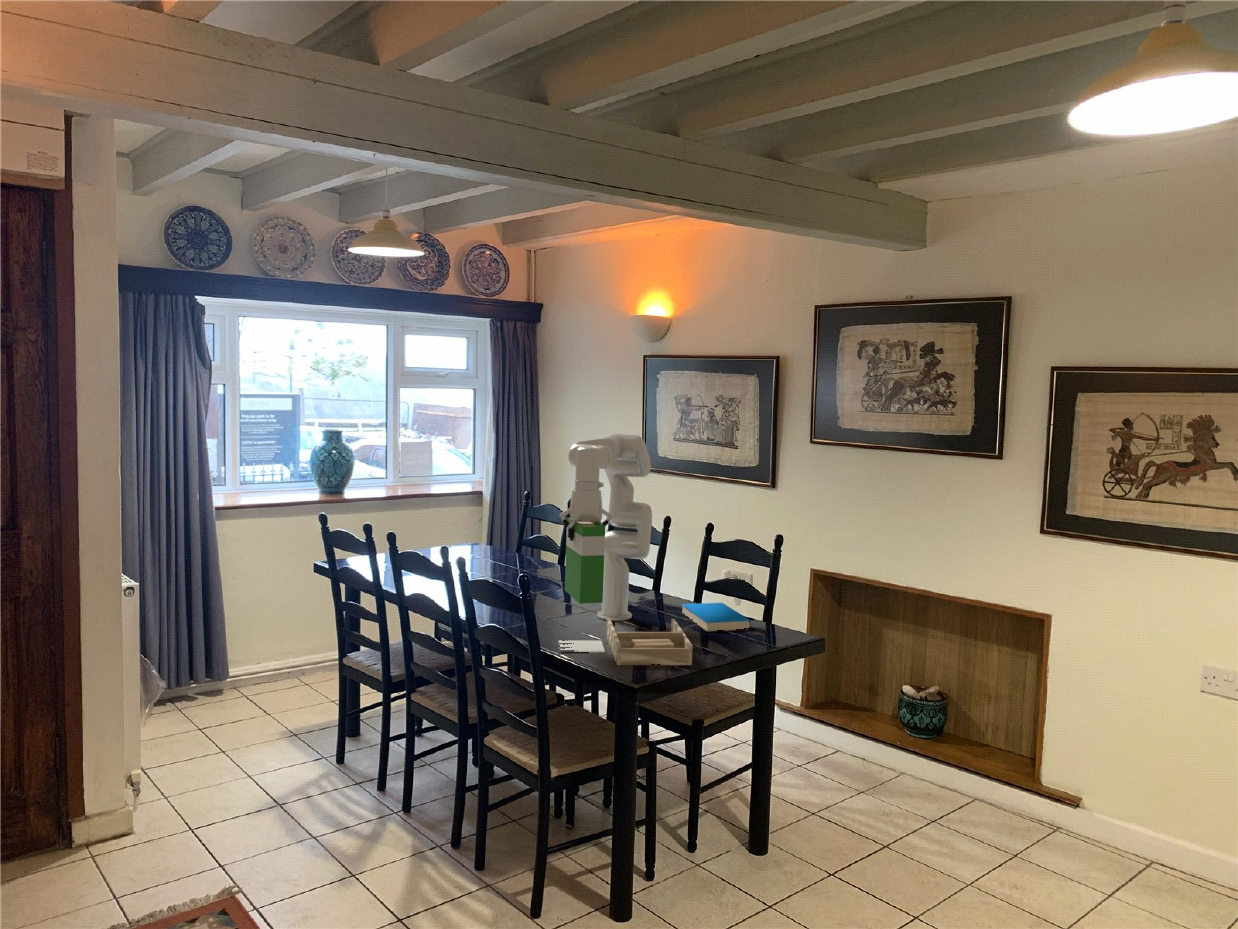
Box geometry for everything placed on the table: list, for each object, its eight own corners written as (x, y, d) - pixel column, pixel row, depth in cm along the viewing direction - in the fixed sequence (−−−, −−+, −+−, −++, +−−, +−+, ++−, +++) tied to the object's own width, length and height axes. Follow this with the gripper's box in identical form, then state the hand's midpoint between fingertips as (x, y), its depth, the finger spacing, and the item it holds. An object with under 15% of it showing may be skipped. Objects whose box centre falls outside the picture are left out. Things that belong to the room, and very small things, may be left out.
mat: (558, 641, 296) (558, 640, 296) (601, 642, 297) (601, 640, 297) (560, 653, 284) (560, 651, 284) (604, 653, 285) (604, 651, 285)
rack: (606, 636, 304) (607, 615, 304) (673, 636, 307) (674, 616, 307) (617, 665, 274) (618, 642, 273) (691, 665, 277) (692, 642, 276)
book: (706, 621, 315) (681, 603, 339) (706, 633, 315) (680, 614, 339) (751, 619, 320) (723, 601, 344) (751, 631, 320) (722, 612, 344)
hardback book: (564, 590, 296) (567, 517, 294) (586, 589, 298) (588, 517, 296) (579, 603, 279) (582, 526, 277) (602, 602, 282) (605, 526, 280)
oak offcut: (631, 648, 283) (631, 639, 282) (668, 648, 285) (668, 638, 285) (635, 654, 277) (636, 645, 277) (673, 653, 279) (673, 644, 279)
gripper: (613, 485, 290) (610, 538, 292) (558, 484, 288) (557, 537, 290) (615, 488, 283) (613, 543, 285) (560, 486, 281) (558, 542, 282)
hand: (585, 540), depth 287 cm, fingers closed on hardback book, 8 cm apart
